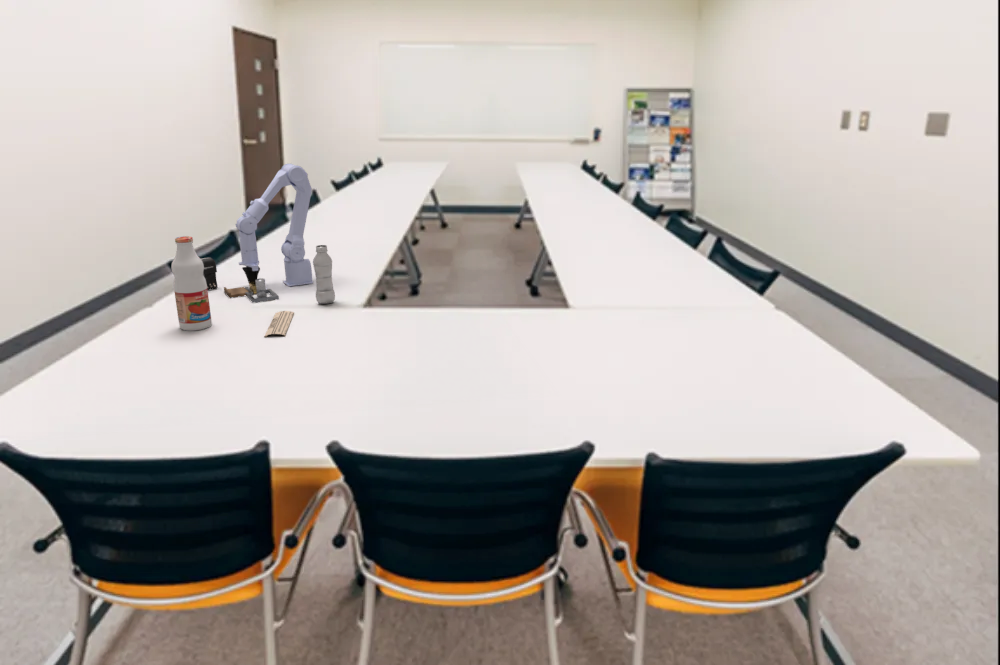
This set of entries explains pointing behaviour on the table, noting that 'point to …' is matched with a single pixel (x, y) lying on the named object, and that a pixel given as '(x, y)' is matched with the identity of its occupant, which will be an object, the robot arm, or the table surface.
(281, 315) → the newspaper
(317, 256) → the plastic bottle
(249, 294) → the socket
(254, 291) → the block
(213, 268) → the battery charger
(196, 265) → the fruit juice
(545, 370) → the table surface
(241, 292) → the brown flat slab
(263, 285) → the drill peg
